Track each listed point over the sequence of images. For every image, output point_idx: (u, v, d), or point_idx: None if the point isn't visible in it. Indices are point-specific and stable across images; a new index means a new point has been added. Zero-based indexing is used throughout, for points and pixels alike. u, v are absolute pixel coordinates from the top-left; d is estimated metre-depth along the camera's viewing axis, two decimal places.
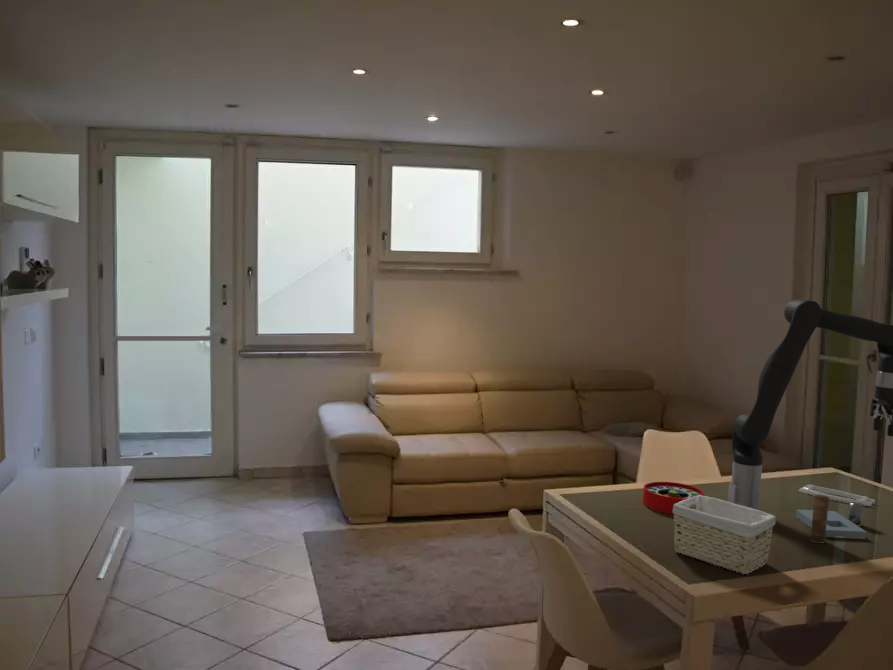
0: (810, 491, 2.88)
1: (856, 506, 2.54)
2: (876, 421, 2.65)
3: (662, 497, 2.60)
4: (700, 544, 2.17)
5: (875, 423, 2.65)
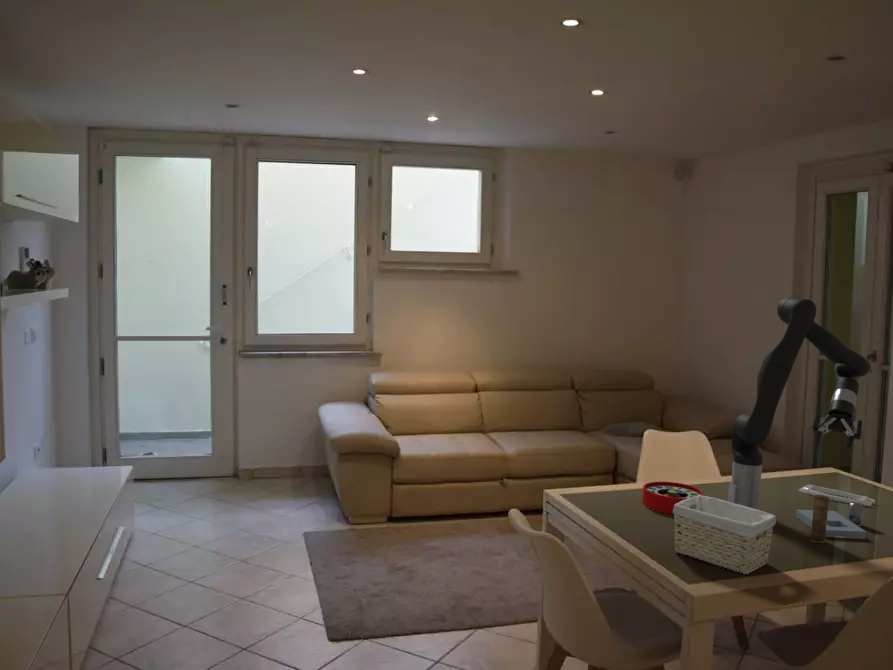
0: (810, 491, 2.88)
1: (856, 506, 2.54)
2: (822, 434, 2.55)
3: (661, 497, 2.60)
4: (700, 544, 2.17)
5: (821, 435, 2.55)
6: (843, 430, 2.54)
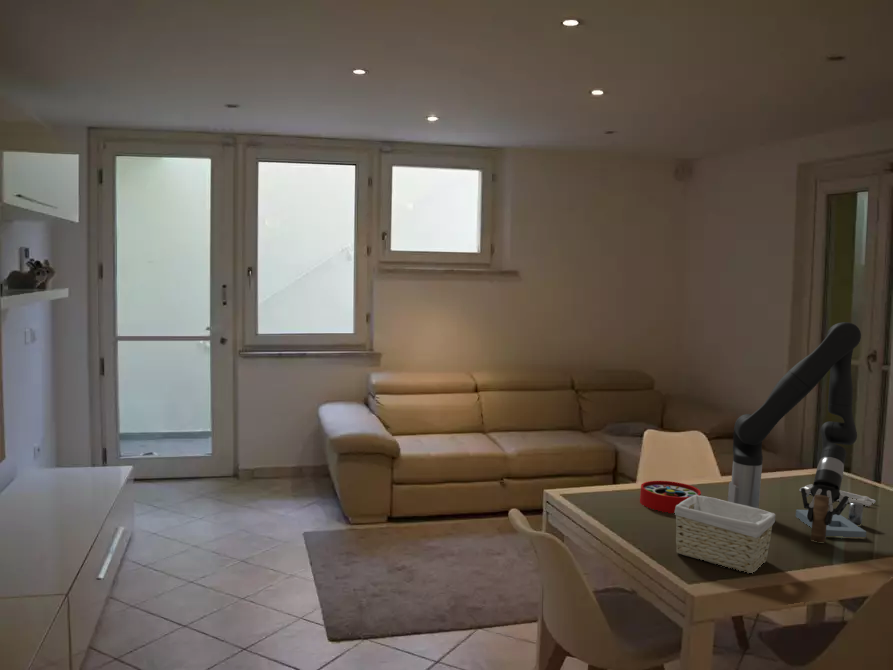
0: None
1: (856, 506, 2.54)
2: None
3: (659, 496, 2.61)
4: (704, 545, 2.17)
5: (812, 512, 2.38)
6: None
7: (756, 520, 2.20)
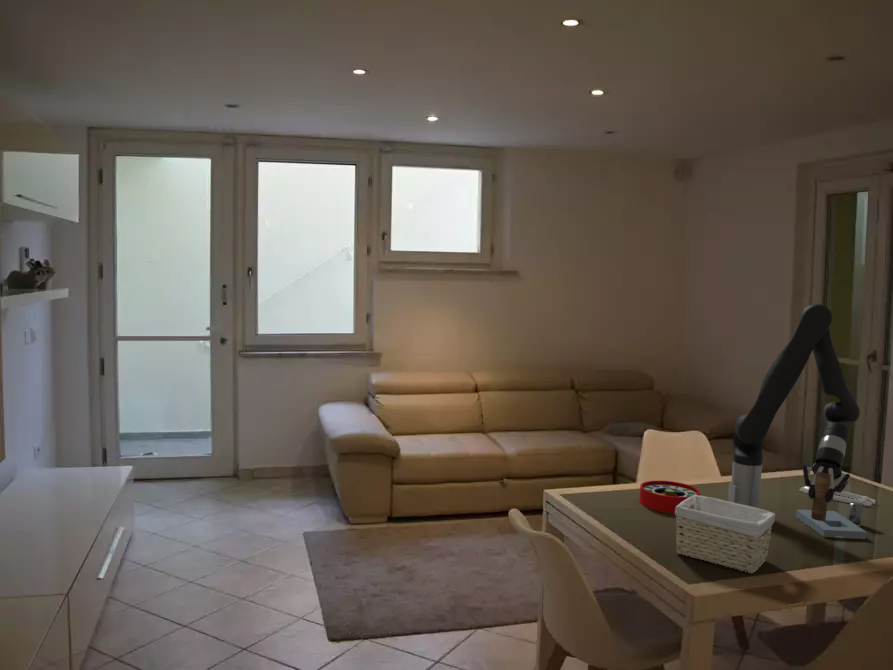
0: None
1: (856, 506, 2.54)
2: None
3: (659, 496, 2.61)
4: (704, 545, 2.17)
5: None
6: None
7: (756, 520, 2.20)
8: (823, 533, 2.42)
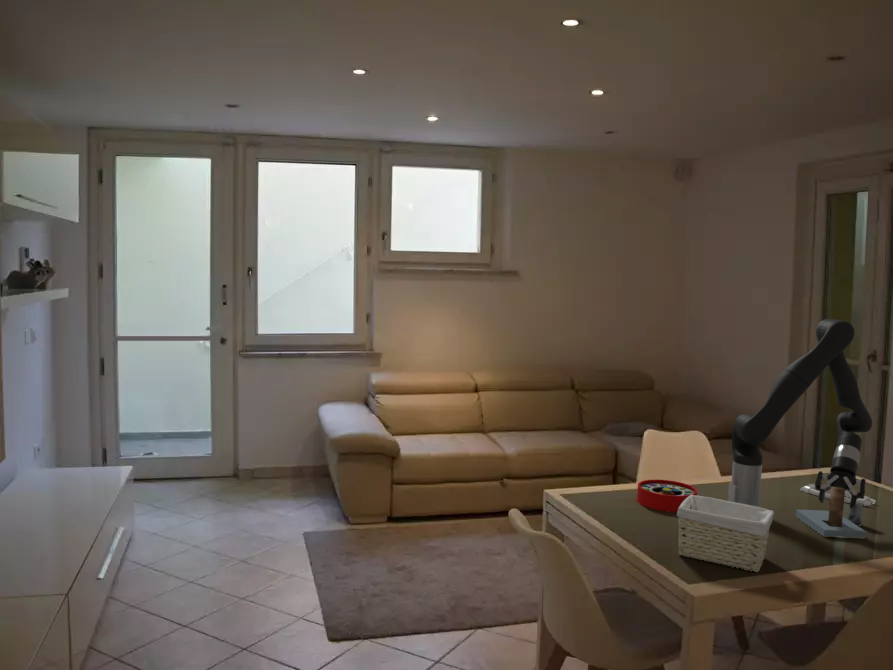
0: (811, 490, 2.89)
1: (856, 506, 2.54)
2: (824, 492, 2.50)
3: (656, 495, 2.62)
4: (708, 545, 2.16)
5: (824, 493, 2.49)
6: (846, 488, 2.48)
7: (754, 518, 2.22)
8: (823, 533, 2.42)
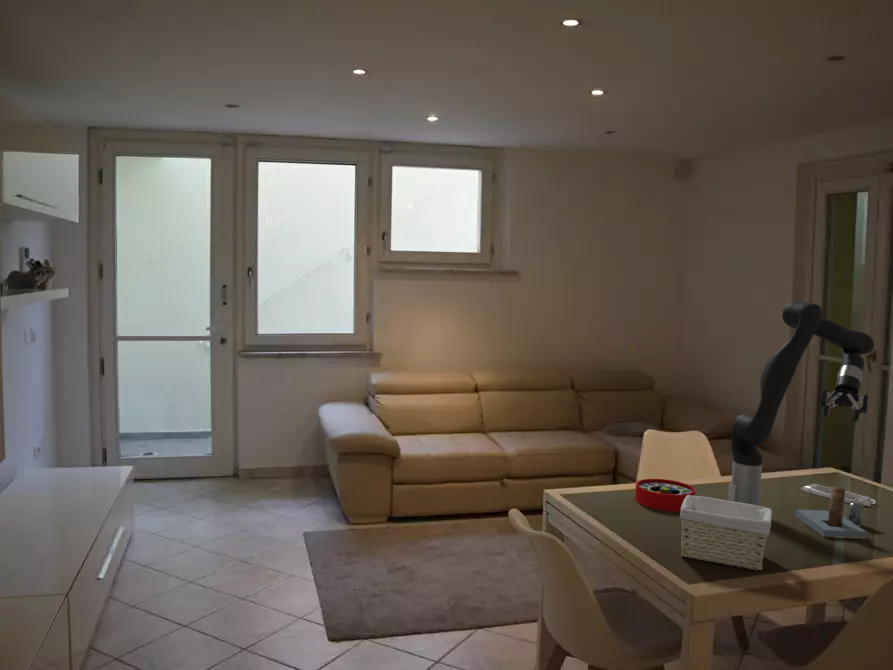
0: (812, 490, 2.90)
1: (856, 506, 2.54)
2: (828, 408, 2.63)
3: (654, 494, 2.63)
4: (711, 546, 2.16)
5: (828, 409, 2.63)
6: (849, 404, 2.62)
7: (752, 516, 2.24)
8: (823, 533, 2.42)
